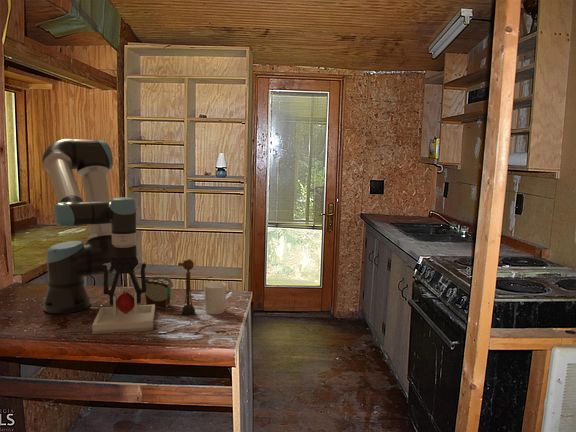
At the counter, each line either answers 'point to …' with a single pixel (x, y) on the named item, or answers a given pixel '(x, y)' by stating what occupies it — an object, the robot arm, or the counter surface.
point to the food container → (158, 291)
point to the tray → (124, 320)
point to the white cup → (215, 297)
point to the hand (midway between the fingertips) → (125, 313)
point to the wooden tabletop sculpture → (187, 289)
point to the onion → (125, 302)
